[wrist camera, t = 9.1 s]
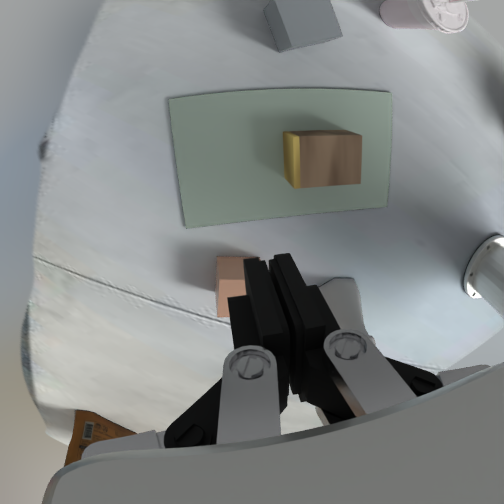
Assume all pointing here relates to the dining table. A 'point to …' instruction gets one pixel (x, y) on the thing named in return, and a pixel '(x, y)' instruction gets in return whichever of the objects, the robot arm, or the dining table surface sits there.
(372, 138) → the rubber mat
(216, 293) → the terracotta block
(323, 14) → the slate block
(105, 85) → the dining table surface
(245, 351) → the robot arm
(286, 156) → the walnut block
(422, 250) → the dining table surface
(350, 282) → the flask
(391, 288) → the dining table surface
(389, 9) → the smoothie
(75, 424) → the pancake mix bag
